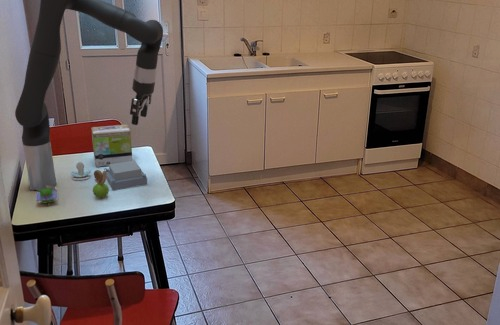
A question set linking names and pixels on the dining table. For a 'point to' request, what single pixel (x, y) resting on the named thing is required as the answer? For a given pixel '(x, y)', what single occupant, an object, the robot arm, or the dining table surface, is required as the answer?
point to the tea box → (111, 144)
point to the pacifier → (80, 172)
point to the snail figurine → (100, 184)
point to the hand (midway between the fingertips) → (139, 120)
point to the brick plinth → (126, 181)
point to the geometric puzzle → (46, 195)
